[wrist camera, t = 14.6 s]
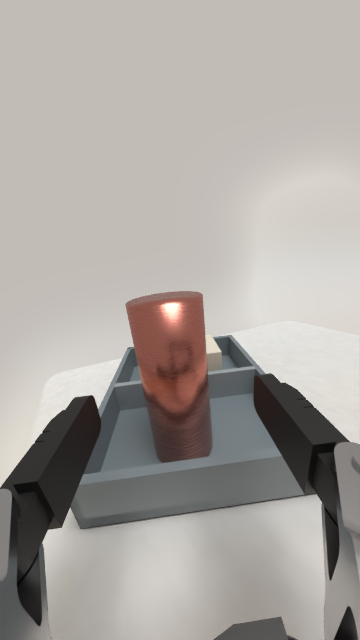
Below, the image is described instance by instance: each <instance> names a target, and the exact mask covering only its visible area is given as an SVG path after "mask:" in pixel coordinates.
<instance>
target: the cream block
mask: <svg viewBox="0 0 360 640" xmlns="http://www.w3.org/2000/svg"><path fill="white" fill-rule="evenodd" d="M205 337H206V352H207V366H208V372H210V371H218V370H222V352H221V350H220V348H219V347H218V345H217V344H216V342H215V340H214V339H213V337H212V335H211V334H209V335H205Z"/></svg>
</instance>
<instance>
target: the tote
mask: <svg viewBox="0 0 360 640" xmlns="http://www.w3.org/2000/svg"><path fill="white" fill-rule="evenodd" d="M213 339H214V340H215V342H216V344H217V345H218V347H219V348H220V350H221V352H222V370H218V371H210V372H208V380H209V394H210V409H211V423H212V437H213V445H212V450H211V453H210V455H209V457H203V458H196V459H189V460H182V461H175V462H168V463H162V462H161V461H160V460H159V458H158V456H157V454H156V450H155V445H154V440H153V435H152V431H151V426H150V421H149V416H148V411H147V406H146V402H145V397H144V392H143V387H142V382H141V377H140V372H139V368H138V363H137V358H136V353H135V348H134V347H129V348H128V349H127V351H126V353H125V355H124V357H123V359H122V361H121V363H120V365H119V367H118V369H117V372H116V374H115V376H114V378H113V380H112V382H111V384H110V386H109V388H108V390H107V393H106V395H105V397H104V399H103V401H102V403H101V405H100V407H99V409H98V411H99V415H100V418H101V431H100V434H99V437H98V439H97V442H96V444H95V447H94V449H93V452H92V454H91V457H90V459H89V462H88V464H87V466H86V469H85V471H84V474H83V476H82V479H81V481H80V484H79V486H78V489H77V491H76V494H75V496H74V498H73V501H72V503H71V506H70V507H71V509H72V512H73V514H74V516H75V518H76V520H77V522H78V524H79V526H80V529H81V528H87V527H94V526H101V525H107V524H114V523H121V522H127V521H134V520H140V519H147V518H154V517H160V516H167V515H173V514H180V513H187V512H193V511H200V510H206V509H213V508H220V507H226V506H233V505H240V504H246V503H253V502H259V501H266V500H273V499H279V498H286V497H292V496H299V495H306V494H304V493H303V491H302V489H301V488H300V486H299V484H298V482H297V481H296V479H295V477H294V476H293V474H292V472H291V471H290V469H289V467H288V465H287V464H286V462H285V460H284V459H283V457H282V455H281V454H280V452H279V450H278V448H277V447H276V445H275V443H274V442H273V440H272V438H271V436H270V435H269V433H268V431H267V430H266V428H265V426H264V425H263V423H262V421H261V419H260V418H259V416H258V414H257V412H256V410H255V407H254V401H253V397H254V377H255V375H261V374H265V373H264V371H263V370H262V369H261V368H260V367H259V366H258V365H257V364H256V362H255V361H254V360H253V359H252V358H251V357H250V356H249V354H248V353H247V352H246V351H245V350H244V349H243V348H242V347H241V345H240V344H239V343H238V342H237V341H236V340H235V339H234V338H233V336H232V335H228V336H219V337H213ZM310 494H312V493H310Z"/></svg>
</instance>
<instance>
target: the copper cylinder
mask: <svg viewBox="0 0 360 640" xmlns="http://www.w3.org/2000/svg"><path fill="white" fill-rule="evenodd" d="M126 309H127V314H128V319H129V324H130V328H131V334H132V338H133V343H134V348H135V353H136V358H137V363H138V368H139V372H140V377H141V382H142V387H143V392H144V397H145V402H146V406H147V411H148V416H149V421H150V426H151V431H152V435H153V440H154V445H155V450H156V454H157V456H158V458H159V460H160V461H161V462H162V463H168V462H175V461H182V460H189V459H196V458H203V457H209V455H210V453H211V450H212V445H213V437H212V423H211V409H210V394H209V380H208V366H207V352H206V337H205V324H204V310H203V295H202V294H201V293H199V292H191V291H179V292H167V293H159V294H153V295H148V296H144V297H139V298H136V299H133V300H131V301H129V302H127V303H126Z"/></svg>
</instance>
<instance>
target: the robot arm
mask: <svg viewBox="0 0 360 640" xmlns="http://www.w3.org/2000/svg"><path fill="white" fill-rule="evenodd" d="M253 401H254V407H255V410H256V412H257V414H258V416H259V418H260V419H261V421H262V423H263V425H264V426H265V428H266V430H267V431H268V433H269V435H270V436H271V438H272V440H273V442H274V443H275V445H276V447H277V448H278V450H279V452H280V454H281V455H282V457H283V459H284V460H285V462H286V464H287V465H288V467H289V469H290V471H291V472H292V474H293V476H294V477H295V479H296V481H297V482H298V484H299V486H300V488H301V489H302V491H303V493H304V494H310V493H317V495H318V497H319V498H320V500H321V501H322V527H323V546H324V564H325V604H324V638H325V640H360V444H356V443H352V442H350V441H349V440H347V439H346V438H345V437H344V436H343V435H342V434H341V433H340V432H339V431H338V430H337V429H336V428H335V427H334V426H333V425H332V424H331V423H330V422H329V421H328V420H327V419H326V418H325V417H324V416H323V415H322V414H321V413H320V412H319V411H318V410H317V409H316V408H314V407H313V405H312V404H311V403H310V402H309V401H308V400H306V398H305V397H304V396H303V395H302V394H301V393H300V392H299V391H298V390H297V389H295V388H293V387H292V386H290V385H288V384H286V383H280V381H279V380H278V379H277V378H276V377H275V376H274V375H273V374H271V373H269V374H261V375H255V377H254V397H253ZM100 431H101V418H100V415H99V411H98V408H97V405H96V402H95V399H94V397H93V396H92V395H90V396H82V397H75V398H74V399H73V400H72V401H71V403H70V404H69V406H68V407H67V408H66V410H62V411H61V412H60V413H59V414H58V415H57V416H55V417H54V418H53V419H52V420H51V421H50V422H49V424H48V425H47V426H46V428H45V429H44V430H43V433H42V434H40V436H39V437H38V438H37V440H36V441H35V444H33V445H32V446H31V448H30V449H29V450H28V452H27V453H26V454H25V456H24V457H23V458H22V460H21V461H20V462H19V463H18V465H17V466H16V468H15V469H14V470H13V472H12V473H11V474H10V475H9V477H8V478H7V479H6V481H5V482H4V483H3V485H2V486H1V488H0V640H52V638H51V634H50V628H49V619H48V605H47V591H46V576H45V562H44V548H43V544H42V541H43V539H44V537H45V535H46V533H47V530H49V529H56V528H62V526H63V523H64V521H65V518H66V516H67V513H68V511H69V508H70V506H71V503H72V501H73V498H74V496H75V494H76V491H77V489H78V486H79V484H80V481H81V479H82V476H83V474H84V471H85V469H86V466H87V464H88V462H89V459H90V457H91V454H92V452H93V449H94V447H95V444H96V442H97V439H98V437H99V434H100ZM214 640H297V639H295V638H293V637H290V636H287V634H286V631H285V628H284V625H283V622H282V619H281V617H277V618H271V619H265V620H259V621H252V622H246V623H240V624H234V625H232V626H231V627H230V628H228V629H227V630H226V631H224V632H223V633H222V634H220V635H219V636H218V637H216V638H215V639H214Z"/></svg>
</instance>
